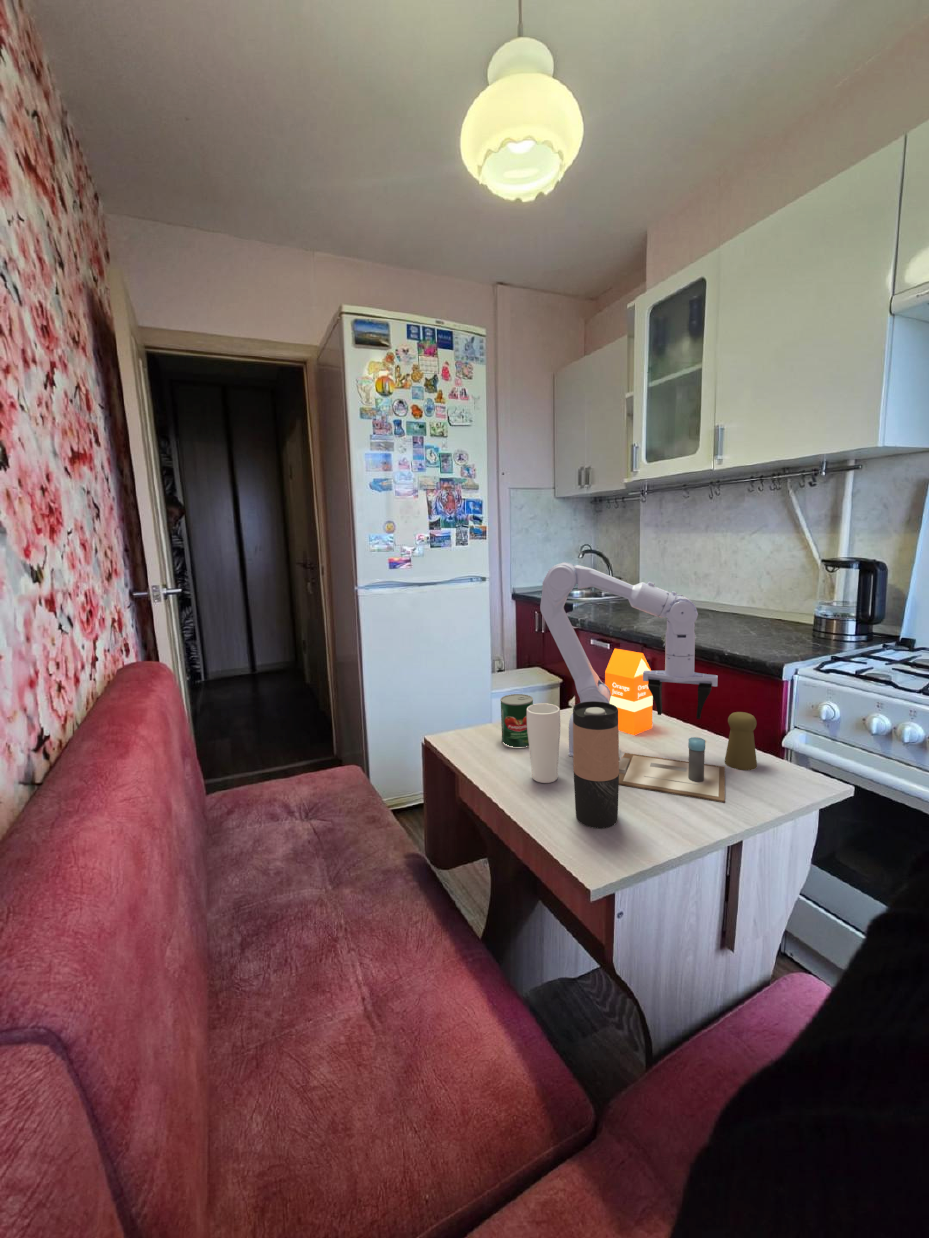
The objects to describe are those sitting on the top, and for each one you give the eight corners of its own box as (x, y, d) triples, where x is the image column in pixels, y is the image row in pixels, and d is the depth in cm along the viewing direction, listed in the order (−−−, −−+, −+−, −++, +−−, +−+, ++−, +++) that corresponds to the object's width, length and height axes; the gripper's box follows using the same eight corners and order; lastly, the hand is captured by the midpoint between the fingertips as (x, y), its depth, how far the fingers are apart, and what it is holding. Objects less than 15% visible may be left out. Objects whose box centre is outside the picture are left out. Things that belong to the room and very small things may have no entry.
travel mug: (617, 807, 92) (617, 701, 89) (620, 831, 85) (620, 716, 82) (574, 804, 94) (572, 700, 91) (573, 827, 86) (571, 714, 83)
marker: (687, 780, 100) (688, 741, 98) (688, 774, 102) (689, 736, 101) (704, 783, 98) (705, 744, 97) (704, 776, 101) (705, 738, 100)
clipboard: (611, 783, 101) (611, 777, 101) (624, 754, 114) (624, 749, 114) (724, 802, 92) (724, 796, 92) (724, 768, 105) (724, 762, 105)
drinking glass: (549, 789, 100) (547, 716, 98) (521, 779, 105) (519, 709, 102) (567, 776, 105) (566, 706, 103) (540, 768, 109) (538, 701, 107)
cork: (761, 770, 103) (763, 719, 102) (729, 769, 104) (731, 718, 103) (751, 758, 109) (753, 709, 107) (720, 757, 110) (722, 708, 109)
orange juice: (623, 719, 136) (623, 646, 133) (652, 727, 129) (653, 650, 126) (604, 726, 132) (604, 650, 129) (633, 735, 125) (634, 656, 122)
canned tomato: (513, 751, 119) (511, 706, 117) (495, 740, 126) (494, 697, 124) (540, 743, 123) (539, 699, 121) (522, 733, 129) (521, 692, 128)
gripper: (640, 655, 107) (640, 717, 109) (718, 659, 100) (716, 725, 102) (645, 648, 113) (645, 707, 115) (718, 652, 106) (716, 714, 108)
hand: (678, 715), depth 109 cm, fingers open, 7 cm apart
